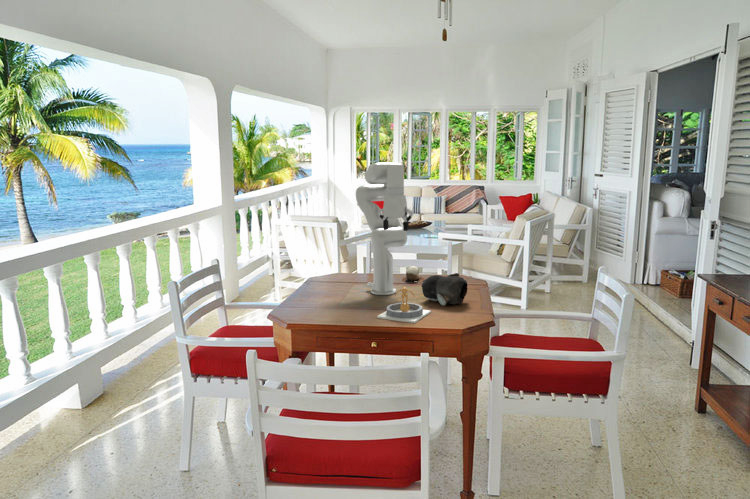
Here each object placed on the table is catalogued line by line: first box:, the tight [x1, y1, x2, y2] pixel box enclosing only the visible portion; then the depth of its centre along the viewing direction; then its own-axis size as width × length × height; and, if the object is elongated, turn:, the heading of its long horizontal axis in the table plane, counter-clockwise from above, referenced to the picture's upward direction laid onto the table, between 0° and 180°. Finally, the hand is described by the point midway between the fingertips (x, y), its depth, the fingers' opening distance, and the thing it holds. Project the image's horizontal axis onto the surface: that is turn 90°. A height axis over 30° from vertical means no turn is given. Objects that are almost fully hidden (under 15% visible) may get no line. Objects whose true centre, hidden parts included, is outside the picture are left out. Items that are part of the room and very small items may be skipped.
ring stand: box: [376, 302, 432, 324], centre depth 240 cm, size 17×17×3 cm
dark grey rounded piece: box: [420, 272, 468, 307], centre depth 259 cm, size 20×21×13 cm
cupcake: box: [401, 265, 426, 283], centre depth 304 cm, size 12×10×10 cm
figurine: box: [394, 285, 415, 312], centre depth 239 cm, size 8×6×12 cm
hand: (395, 230), depth 255 cm, fingers open, 9 cm apart
